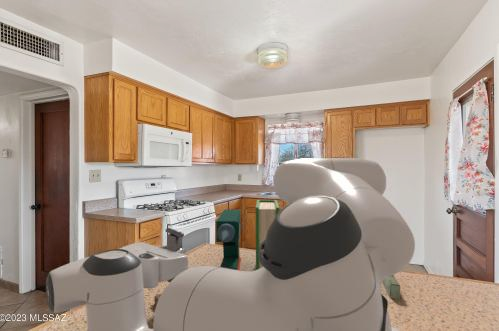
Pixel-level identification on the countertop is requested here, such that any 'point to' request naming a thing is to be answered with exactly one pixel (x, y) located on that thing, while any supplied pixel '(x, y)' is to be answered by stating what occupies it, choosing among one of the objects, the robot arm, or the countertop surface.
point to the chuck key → (174, 241)
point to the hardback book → (264, 222)
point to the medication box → (392, 287)
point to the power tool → (229, 237)
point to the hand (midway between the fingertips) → (177, 249)
